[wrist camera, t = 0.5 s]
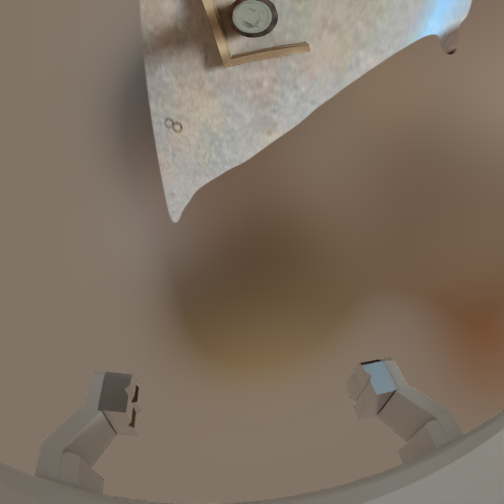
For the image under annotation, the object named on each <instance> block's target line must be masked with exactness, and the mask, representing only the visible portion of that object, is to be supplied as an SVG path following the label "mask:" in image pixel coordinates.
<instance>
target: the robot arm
mask: <svg viewBox="0 0 504 504" xmlns="http://www.w3.org/2000/svg"><path fill="white" fill-rule="evenodd" d="M354 371H355V372H354V373H353V374H352V375H351V376H350V377H349V379H348V383H347V389H348V393H349V396H350V398H352V399H353V400H354V401H355V404H354V408H355V411H356V413H357V415H358V418H359V419H363V418H367V417H371V416H376V415H377V417H378V418H379V419H380V420H382V421H383V422H384V423H385V424H386V425H387V426H389V427H390V428H391V429H392V430H393V431H394V432H395V433H397V434H398V435H399V436H400V437H401V438H402V439H404V440H405V441H406V443H405V444H404V445H403V446H402V447H401V448H400V449H399V451H398V452H399V455H400V457H401V459H402V462H403V464H401V465H398V466H396V467H393V468H391V469H388V470H385V471H382V472H380V473H377V474H374V475H371V476H368V477H365V478H362V479H358V480H355V481H352V482H349V483H345V484H341V485H337V486H333V487H330V488H325V489H321V490H316V491H312V492H307V493H302V494H296V495H291V496H284V497H278V498H271V499H263V500H253V501H243V502H226V503H175V502H159V501H148V500H139V499H131V498H124V497H118V496H112V495H106V494H103V484H104V479H103V477H102V476H101V475H100V474H98V473H97V472H96V471H95V470H94V469H93V468H92V467H93V465H94V464H95V463H96V462H97V460H98V459H99V458H100V456H101V455H102V454H103V453H104V451H105V450H106V449H107V447H108V446H109V445H110V443H111V442H112V441H113V440H114V438H115V437H116V436H117V435H116V434H122V435H133V436H138V435H139V424H140V420H139V418H138V416H137V414H138V413H139V412H140V410H141V392H140V388H139V387H138V386H137V385H136V377H135V375H133V374H122V373H113V372H105V371H96V370H95V371H93V373H92V375H91V379H90V382H89V386H88V390H87V395H86V398H85V403H84V407H83V408H81V407H80V408H79V409H77V410H76V411H75V412H74V413H73V414H72V415H71V416H70V417H69V418H68V419H67V420H66V421H65V422H64V423H63V424H62V425H61V426H60V427H59V428H58V429H56V430H55V431H54V432H53V433H52V434H51V435H50V436H49V437H48V438H47V439H46V440H45V441H44V442H43V443H42V444H41V447H40V452H39V457H38V462H37V467H36V473H35V475H32V474H30V473H27V472H24V471H22V470H19V469H16V468H14V467H12V466H9V465H7V464H5V463H2V462H0V504H504V409H503V410H501V411H500V412H499V413H497V414H496V415H494V416H493V417H491V418H490V419H488V420H487V421H485V422H483V423H482V424H480V425H479V426H477V427H475V428H474V429H472V430H470V431H469V432H467V433H465V434H463V432H462V430H461V428H460V426H459V425H458V423H457V421H456V419H455V417H454V415H453V414H452V412H451V411H450V410H448V409H447V408H445V407H444V406H442V405H440V404H438V403H437V402H436V401H434V400H432V399H431V398H429V397H428V396H426V395H425V394H423V393H421V392H420V391H418V390H417V389H415V388H414V387H412V386H411V387H409V386H408V384H407V382H406V381H405V379H404V377H403V375H402V374H401V372H400V370H399V368H398V367H397V365H396V363H395V361H394V360H393V359H392V358H391V357H389V358H384V359H377V360H372V361H367V362H362V363H358V364H357V365H356V366H355V368H354Z"/></svg>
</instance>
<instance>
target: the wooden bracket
mask: <svg viewBox="0 0 504 504" xmlns="http://www.w3.org/2000/svg"><path fill="white" fill-rule="evenodd" d="M202 2H203V4H204V7H205V10H206V13H207V16H208V19H209V22H210V25H211V28H212V31H213V34H214V37H215V40H216V43H217V46H218V49H219V52H220V55H221V58H222V61H223V64H224V67H225V68H227V67H230V66H235V65H239V64H243V63H247V62H252V61H257V60H262V59H267V58H272V57H278V56H284V55H290V54H296V53H304V52H310V48H309V45H308V44H307V43H306V42H303V43H296V44H289V45H283V46H277V47H272V48H266V49H261V50H256V51H251V52H247V53H243V54H238V55H234V56H232V54H231V50H230V47H229V44H228V41H227V38H226V35H225V32H224V29H223V26H222V22H221V19H220V16H219V13H218V10H217V7H216V4H215V1H214V0H202Z"/></svg>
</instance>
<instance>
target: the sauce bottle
mask: <svg viewBox="0 0 504 504" xmlns="http://www.w3.org/2000/svg"><path fill="white" fill-rule="evenodd" d="M228 19H229V23H230V25H231V28H232V29H233V30H235V31H237V32H238V33H239V34H241V35H243V36H246V37H261V36H264V35H266V34H268V33H269V32H271V31H272V30H273V29H274V27H275V26H276V24H277V21H278V14H277V10H276V8H275V6H274V4H273V3H272V2H270V1H269V0H236V1H235V2H234V3H233V4H232V5H231V7H230V9H229V12H228Z"/></svg>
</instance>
